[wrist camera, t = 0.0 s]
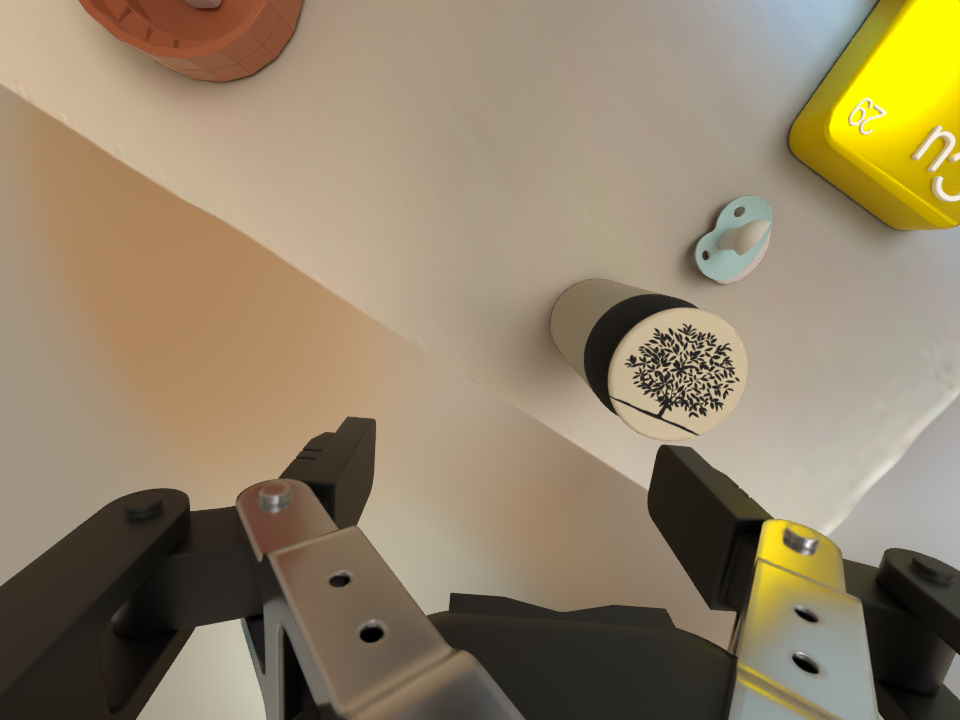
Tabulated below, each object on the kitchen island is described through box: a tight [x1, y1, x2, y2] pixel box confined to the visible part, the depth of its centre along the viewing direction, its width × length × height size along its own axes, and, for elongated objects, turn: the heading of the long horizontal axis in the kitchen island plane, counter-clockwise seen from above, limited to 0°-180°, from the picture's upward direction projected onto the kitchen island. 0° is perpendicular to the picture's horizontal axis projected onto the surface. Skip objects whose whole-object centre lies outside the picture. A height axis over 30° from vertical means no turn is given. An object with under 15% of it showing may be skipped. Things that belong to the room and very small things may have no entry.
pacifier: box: [695, 196, 773, 284], centre depth 37 cm, size 7×6×6 cm
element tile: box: [789, 0, 960, 231], centre depth 35 cm, size 15×15×5 cm
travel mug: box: [551, 279, 748, 441], centre depth 32 cm, size 8×8×18 cm
